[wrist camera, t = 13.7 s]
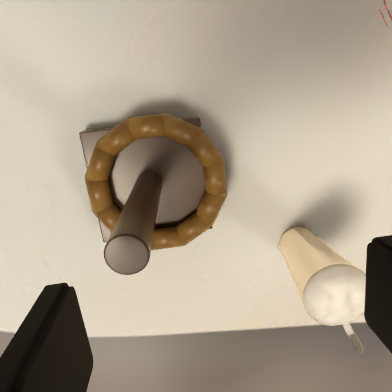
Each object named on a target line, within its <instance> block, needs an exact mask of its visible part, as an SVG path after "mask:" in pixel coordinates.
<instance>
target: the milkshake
mask: <svg viewBox="0 0 392 392" xmlns="http://www.w3.org/2000/svg"><path fill="white" fill-rule="evenodd" d="M279 247H280V250H281V253H282V256H283V258H284V260H285V262H286V264H287V267H288V269H289V271H290V273H291V275H292V277H293V280H294V282H295V284H296V287H297V289H298V292H299V294H300V297H301V299H302V302H303V304H304V306H305V309H306V311H307V313H308V314H309V316H310V317H312V318H313V319H315V320H316V321H318V322H320V323H322V324H324V325H330V326H333V325H341V324H342V326H343V327H344V329H345V331H346V333H347V335H348V337H349V338H350V340H351V342H352V344H353V345H354V347H355V349H356V351H357V352H358V353H360V352H363V351H364V349H363V347H362V345H361V343H360V342H359V340H358V338H357V336H356V335H355V333H354V331H353V329H352V328H351V326H350V324H349V322H351V321H353V320H354V319H356V318H358V317H360V316H361V315H362V314H363V313H364V307H365V284H366V274H365V273H364V272H363V271H362V270H360V269H359V268H357V267H356V266H355V265H353V264H352V263H351V262H349V261H348V260H347V259H345V258H344V257H342V256H341V255H340V254H338V253H337V252H335V251H334V250H333V249H332V248H330V247H329V246H328V245H327V244H326V243H324V242H323V241H322V240H321V239H319V238H318V237H317V236H316V235H315V234H313V233H312V232H310V231H309V230H307V229H306V228H305V227H293V228H291V229H290V230H288V231H287V232H285V233H284V234H283V235H282V238H281V240H280V243H279Z"/></svg>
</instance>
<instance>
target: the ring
mask: <svg viewBox="0 0 392 392" xmlns="http://www.w3.org/2000/svg"><path fill="white" fill-rule="evenodd" d="M160 136H164V137H166V138H169V139H171V140H173V141H176V142H178V143H181V144H183V145H186V146H188V148H189V149H190V150H191V152H192V153H193V154H194V155H195V157H196V158H197V159H198V161H199V162H200V163H201V165H202V166H203V170H204V179H205V187H206V192H205V194H204V196H203V198H202V201H201V203H200V205H199V207H198V210H197V212H196V213H195V214H193V215H192V216H190V217H189V218H188V219H186V220H185V221H184V222H182V223H181V224H179V225H178V226H175V227H168V228H160V229H154V235H153V241H152V246H151V250H156V249H163V248H171V247H178V246H184V245H186V244H188V243H189V242H190V241H192V240H193V239H195V238H196V237H197V236H199V235H200V234H202V233H203V232H204V231H206V230H207V229H209V228H210V227H211V226H212V225H213V223H214V221H215V219H216V217H217V215H218V213H219V211H220V209H221V206H222V204H223V202H224V200H225V198H226V195H227V186H226V176H225V166H224V159H223V157H222V155H221V154H220V153H219V151H218V150H217V149H216V147H215V146H214V144H213V143H212V142H211V140H210V139H209V138H208V136H207V135H206V134H205V132H204V131H203V130H202V129H201V128H200V127H198V126H195V125H193V124H191V123H188V122H186V121H184V120H181V119H179V118H177V117H174V116H172V115H170V114H167V113H159V114H151V115H144V116H136V117H129V118H126V119H124V120H123V121H122V122H120V123H119V124H118V125H117V126H116V127H114V128H113V129H112V130H111V131H109V132H108V133H107V134H106V135H104V136H103V137H102V138H101V139H99V140H98V141H97V143H96V145H95V148H94V151H93V154H92V157H91V159H90V162H89V165H88V168H87V171H86V174H85V181H86V186H87V190H88V194H89V199H90V203H91V207H92V211H93V213H94V214H95V215H96V217H97V218H98V219H99V220H100V221H101V222H102V223H103V224H104V225H105V226H106V227H107V228H108V229H109V231H110V232H111V233H112V231H113V229H114V227H115V225H116V223H117V220H118V218H119V216H120V214H121V211H120V210H119V209H118V208H117V207H116V206H115V205H114V203H113V201H112V197H111V192H110V187H109V182H108V177H109V174H110V171H111V168H112V165H113V163H114V160H115V157H116V155H117V154H119V153H120V152H121V151H122V150H124V149H125V148H126V147H127V146H129V145H130V144H131V143H132V142H134V141H135V140H137V139H144V138H152V137H160Z"/></svg>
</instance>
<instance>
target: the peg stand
mask: <svg viewBox="0 0 392 392" xmlns="http://www.w3.org/2000/svg"><path fill="white" fill-rule="evenodd" d="M179 119H181V120H184V121H186V122H188V123H191V124H193V125H195V126H198V127H200V128H201V123H200V118H199V116H194V117H186V118H179ZM115 127H116V126H115ZM113 128H114V127H107V128H99V129H91V130H84V131H82V132H80V133H79V134H80V139H81V143H82V148H83V152H84V157H85V161H86V166H87V168H88V165H89V162H90V159H91V157H92V154H93V151H94V148H95V145H96V143H97V141H98V140H99V139H101V138H102V137H103V136H104V135H106V134H107V133H108V132H109V131H111V130H112V129H113ZM108 182H109V187H110V192H111V197H112V201H113V203H114V205H115V206H116V207H117V208H118V209H119V210H120V211H121V214H120V216H119V218H118V220H117V223H116V225H115V227H114V229H113V231H112V233H111V232H110V231H109V229H108V228H107V227H106V226H105V225H104V224H103V223H102V222H101V221H100V220H99V224H100V228H101V233H102V237H103V241H104V242H107V244H106V246H105V249H104V258H105V261H106V263H107V264H108V266H109V267H110V268H111V269H112V270H114V271H115V272H117V273H120V274H125V275H130V274H135V273H137V272H139V271H141V270H142V269H144V268H145V267H146V265H147V264H148V261H149V258H150V252H151V246H152V241H153V235H154V229H160V228H168V227H175V226H178V225H179V224H181V223H182V222H184V221H185V220H186V219H188V218H189V217H190V216H192V215H193V214H195V213H196V212H197V210H198V207H199V205H200V203H201V201H202V198H203V196H204V194H205V192H206V187H205V179H204V170H203V166H202V165H201V163H200V162H199V161H198V159H197V158H196V157H195V155H194V154H193V153H192V152H191V150H190V149H189V148H188V146H186V145H183V144H181V143H178V142H176V141H173V140H171V139H169V138H166V137H164V136H160V137H152V138H144V139H137V140H135V141H134V142H132V143H131V144H130V145H129V146H127V147H126V148H125V149H124V150H122V151H121V152H120V153H119V154H117V155H116V157H115V160H114V163H113V165H112V168H111V171H110V174H109V177H108ZM210 228H212V226H211V227H210ZM210 228H209V229H210Z"/></svg>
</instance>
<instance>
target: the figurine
mask: <svg viewBox="0 0 392 392" xmlns="http://www.w3.org/2000/svg"><path fill="white" fill-rule="evenodd" d="M384 4H385V7H386V9H387V11H388V13H389V15H390V12H389V10H388V8H387V6H386V3H385V0H384ZM379 11H380V9H379ZM380 13H381V11H380ZM381 15H382V13H381ZM382 17H383V15H382ZM390 18H391V20H392V17H391V15H390ZM383 19H384V17H383ZM384 21H385V19H384ZM385 23H386V21H385ZM386 25H387V24H386Z"/></svg>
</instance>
